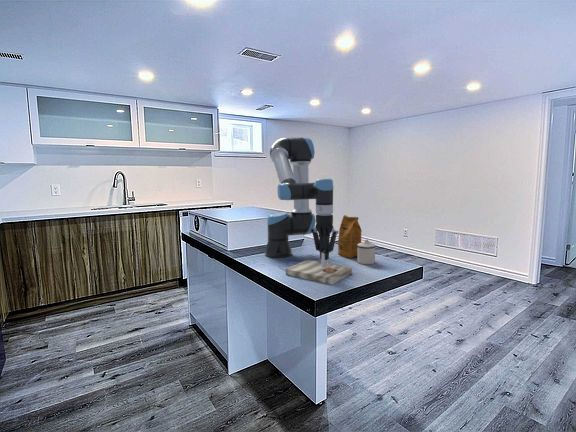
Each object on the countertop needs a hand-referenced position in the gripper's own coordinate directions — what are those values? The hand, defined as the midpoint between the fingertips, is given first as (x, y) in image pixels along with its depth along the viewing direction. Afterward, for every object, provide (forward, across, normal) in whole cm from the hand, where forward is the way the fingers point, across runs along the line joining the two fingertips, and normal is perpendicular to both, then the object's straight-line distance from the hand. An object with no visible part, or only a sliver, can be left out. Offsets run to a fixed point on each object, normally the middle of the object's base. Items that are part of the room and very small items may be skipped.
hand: (324, 266), depth 142 cm
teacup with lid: (+4, +6, +30) cm, 31 cm away
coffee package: (+4, -6, +37) cm, 38 cm away
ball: (+3, +1, 0) cm, 3 cm away
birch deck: (+4, -3, 0) cm, 5 cm away
